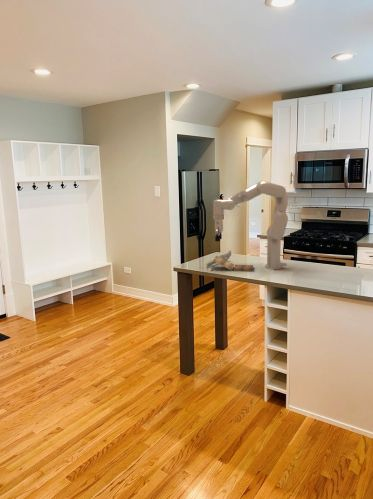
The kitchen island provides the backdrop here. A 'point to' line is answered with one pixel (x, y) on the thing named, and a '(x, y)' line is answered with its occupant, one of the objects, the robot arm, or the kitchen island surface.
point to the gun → (224, 256)
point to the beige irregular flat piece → (223, 262)
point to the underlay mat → (226, 269)
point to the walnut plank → (243, 268)
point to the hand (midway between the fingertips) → (218, 240)
